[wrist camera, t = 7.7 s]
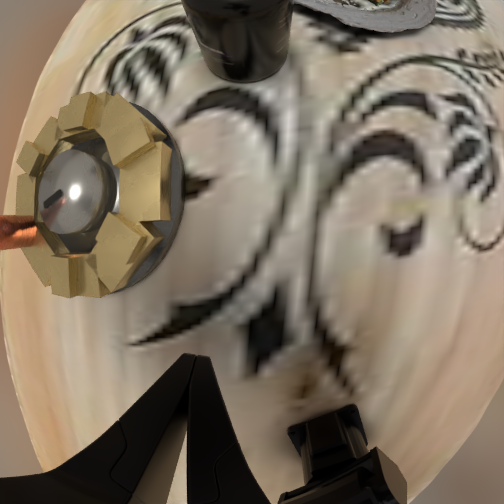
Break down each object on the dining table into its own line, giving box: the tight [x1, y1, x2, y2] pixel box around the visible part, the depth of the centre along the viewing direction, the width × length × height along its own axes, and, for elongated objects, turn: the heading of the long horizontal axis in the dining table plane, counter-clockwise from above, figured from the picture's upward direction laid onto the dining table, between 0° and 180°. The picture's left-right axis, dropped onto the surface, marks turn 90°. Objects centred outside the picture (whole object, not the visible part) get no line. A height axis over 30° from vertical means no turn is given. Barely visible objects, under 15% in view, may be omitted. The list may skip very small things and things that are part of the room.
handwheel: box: [0, 91, 172, 298], centre depth 13 cm, size 15×15×10 cm
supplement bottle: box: [181, 0, 294, 82], centre depth 12 cm, size 7×7×12 cm
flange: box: [38, 102, 185, 294], centre depth 17 cm, size 16×16×5 cm
